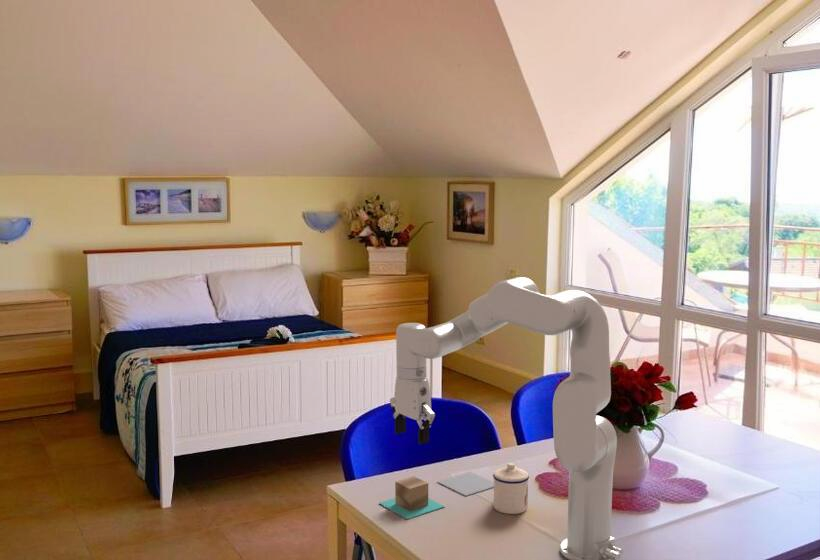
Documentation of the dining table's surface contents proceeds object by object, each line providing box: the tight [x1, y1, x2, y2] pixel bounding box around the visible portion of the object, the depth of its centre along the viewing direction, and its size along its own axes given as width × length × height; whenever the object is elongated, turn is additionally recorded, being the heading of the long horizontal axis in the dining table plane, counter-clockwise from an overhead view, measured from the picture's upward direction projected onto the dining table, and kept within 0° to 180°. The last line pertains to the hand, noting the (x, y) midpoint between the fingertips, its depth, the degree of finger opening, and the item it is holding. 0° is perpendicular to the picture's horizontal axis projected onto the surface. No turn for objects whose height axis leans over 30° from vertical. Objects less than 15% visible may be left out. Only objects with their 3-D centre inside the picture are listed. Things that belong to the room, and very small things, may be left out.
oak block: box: [394, 476, 429, 511], centre depth 214 cm, size 6×6×6 cm
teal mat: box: [378, 497, 446, 520], centre depth 215 cm, size 12×12×1 cm
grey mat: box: [437, 471, 494, 497], centre depth 229 cm, size 12×12×1 cm
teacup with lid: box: [492, 462, 530, 515], centre depth 214 cm, size 12×9×12 cm
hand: (411, 437), depth 212 cm, fingers open, 9 cm apart
